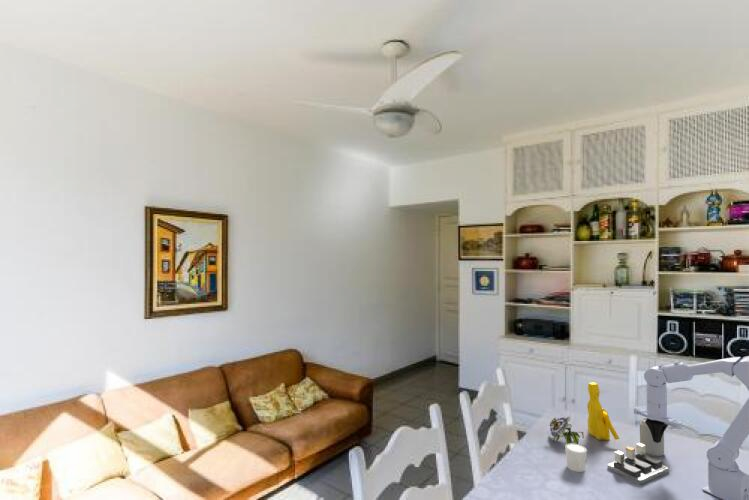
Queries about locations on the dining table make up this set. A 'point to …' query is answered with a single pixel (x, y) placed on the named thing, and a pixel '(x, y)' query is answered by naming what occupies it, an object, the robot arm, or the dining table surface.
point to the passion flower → (563, 430)
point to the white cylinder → (576, 457)
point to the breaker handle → (630, 453)
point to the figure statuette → (598, 416)
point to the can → (650, 440)
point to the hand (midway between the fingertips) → (657, 441)
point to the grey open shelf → (638, 466)
